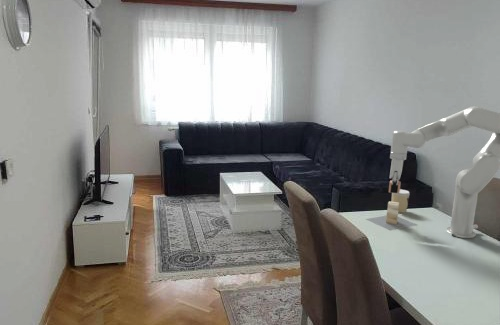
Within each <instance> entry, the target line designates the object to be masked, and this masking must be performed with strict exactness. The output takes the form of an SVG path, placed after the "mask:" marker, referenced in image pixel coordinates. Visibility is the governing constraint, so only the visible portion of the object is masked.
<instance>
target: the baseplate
mask: <svg viewBox="0 0 500 325" xmlns="http://www.w3.org/2000/svg"><path fill="white" fill-rule="evenodd" d="M386 217H387V215H383V216H382V215H381V216H377V217H376V216H375V217H370V218H365V220H366V221H369V222H371V223H373V224H375V225H378V226H379V227H382V228H383V229H385V230H388V231H394V230H401V229H405V228H410V227H415V226H418V224H417V223H414V222H413V221H411V220H410V221H409V220H408V219H405V218H402V217H399V216H398V217H397V224H391V223H386Z"/></svg>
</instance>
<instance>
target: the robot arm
mask: <svg viewBox="0 0 500 325" xmlns="http://www.w3.org/2000/svg"><path fill="white" fill-rule="evenodd" d="M472 127H475V128H477V129H481V130H485V131H488V132H491V136H490V138H489V139H488V140H487V142H486V144H484V146H483V147H482V148H481V149H480V150H479V152H477V153H476V154H475V156H474V157H473V159H472V166H471V167H470V168H465V169H463V170H460V171H459V172H458V173H457V175H456V178H455V189H454V197H453V205H452V212H451V219H450V226H449V227H446V229H445V230H446V232H448V233H449V234H451V236H453V237H456V238H460V239H474V238H475V237H476V234H477V233H476V232H474V229H475V230H476V229H478V228H479V225H478V224H475V223H474V222H475V217H476V216H475V215H476V208H477V204H478V194H479V193H480V192H482V190H483V189H484V188H485V187H487V185H488V184H489V183H490V181H492V179H493V178H494V177H495V176H496V175H497V173H498V172H499V170H500V112H498V111H493V110H489V109H485V108H483V107H479V106H477V105H475V106H473V105H472V106H469V107H467V108H465V109H462V110H461V111H458V112H456V113H453V114H450V115H449V116H446V117H444V118H441V119H439V120H437V121H434V122H432V123H429V124H426V125H424V126H422V127H419V128H417V129H415V130H413V131H412V132H408V131H405V130H394V131H393V133H392V137H391V145H390V146H391V147H390V154H389V159H391V165H390V172H389V179H391V181H392V184H391V191H390V192H391V194H392V193H397V191H398V181H400V179H401V175H402V172H403V167H404V161H405V160H407V154H408V148H409V147H410V148H414V149H420V148H422V147H424V146H425V144H426V143H427V142H430V141H432V140H434V139H437V138H440V137H448V136H452V135H454V134H458V133H459V132H462V131H465V130H467V129H470V128H472ZM390 192H389V193H390Z"/></svg>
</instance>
